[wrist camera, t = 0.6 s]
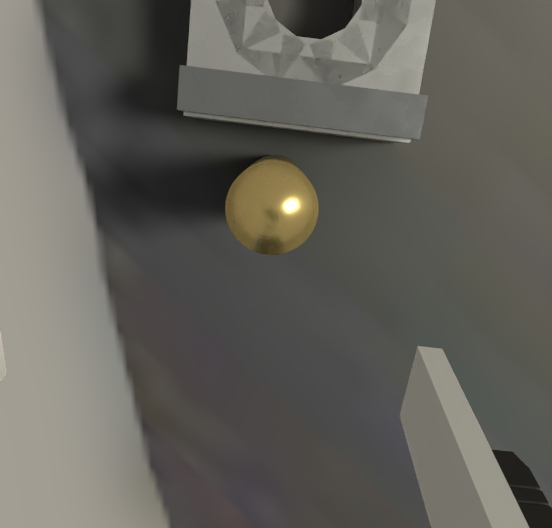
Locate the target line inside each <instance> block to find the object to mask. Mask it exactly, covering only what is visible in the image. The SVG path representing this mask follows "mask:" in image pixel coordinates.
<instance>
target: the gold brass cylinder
mask: <svg viewBox="0 0 552 528" xmlns="http://www.w3.org/2000/svg"><path fill="white" fill-rule="evenodd" d="M225 212H226V218H227V222H228V225H229V228H230V229H231V231H232V233H233V234H234V236H235V237H236V238H237V240H238V241H239V242H240V243H242V244H243V245H244V246H245V247H247V248H249V249H250V250H253V251H255V252H258V253H261V254H266V255H277V254H283V253H286V252H289V251H292V250H294V249H296V248H297V247H299V246H300V245H301V244H302V243H304V242H305V241H306V239H307V238H308V237H309V236H310V234H311V233H312V231H313V229H314V227H315V225H316V222H317V218H318V199H317V195H316V192H315V190H314V188H313V186H312V184H311V183H310V181H309V180H308V178H307V177H306V176H305V175H304V173H303V172H302V171H301V170H300V168H299V167H298V166H297V165H296V164H295V163H294V162H293V161H291V160H290V159H288V158H286V157H283V156H278V155H270V156H265V157H263V158H260V159H259V160H257V161H256V162H254V163H253V164H252V165H251V166H249V167H248V168H247V169H246V170H245V171H243V172H242V173H241V174H240V175H239V176H238V177H237V178H236V179H235V181H234V182H233V184H232V185H231V187H230V189H229V191H228V194H227V198H226V204H225Z"/></svg>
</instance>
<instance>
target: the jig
mask: <svg viewBox="0 0 552 528" xmlns="http://www.w3.org/2000/svg"><path fill="white" fill-rule="evenodd" d="M435 2H436V0H354V7H353V14H352V19H351V21H350V22H349V24H348V25H347V26H346V28H345V29H343V30H340V31H338V32H336V33H334V34H332V35H330V36H327V37H325V38H323V39H314V38H307V37H299V36H295V35H294V34H293V33H291V32H290V31H289V30H288V29H286V28H285V27H284V26H283V25H282V24H280V23H279V22H278V21H277V20H275V17H274V15H273V12H272V10H271V7H270V5H269V2H268V0H191V9H190V24H189V39H188V54H187V66H185V65H180V68H179V84H178V99H177V110H179V111H182V112H184V113H183V115H184V116H188V117H191V118H195V119H203V120H211V121H220V122H228V123H236V124H244V125H252V126H261V127H269V128H277V129H285V130H294V131H302V132H310V133H318V134H327V135H335V136H343V137H351V138H359V139H368V140H376V141H384V142H392V143H410V141H411V140H414V139H420V136H421V131H422V125H423V120H424V115H425V109H426V104H427V98H428V96H427V95H419V91H420V85H421V80H422V74H423V68H424V63H425V57H426V52H427V46H428V41H429V35H430V29H431V24H432V18H433V13H434V7H435Z"/></svg>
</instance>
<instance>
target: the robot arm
mask: <svg viewBox="0 0 552 528" xmlns="http://www.w3.org/2000/svg"><path fill="white" fill-rule="evenodd" d="M6 375H7V371H6V364H5V358H4V351H3V345H2V338H1V332H0V381H1V380H2V379H3V378H4V377H5V376H6ZM400 419H401V422H402V426H403V429H404V433H405V437H406V440H407V444H408V447H409V451H410V454H411V458H412V461H413V465H414V468H415V472H416V476H417V479H418V483H419V486H420V490H421V493H422V497H423V500H424V504H425V507H426V511H427V515H428V518H429V522H430V525H431V528H552V508H551V507H549V506H548V501H547V499H546V497H545V496H544V494H543V492H542V491H540V487H539V485H538V483H537V481H536V480H535V478H534V476H533V474H532V472H531V471H530V469H529V468H528V467H527V466H526V465H525V464H524V463H523V462H522V461H521V460H520V459H519V458H518V457H517V456H516V455H515V454H514V453H513V452H509V451H499V450H491V448H490V446H489V444H488V442H487V440H486V438H485V436H484V434H483V432H482V429H481V427H480V425H479V423H478V421H477V419H476V417H475V415H474V413H473V411H472V409H471V407H470V405H469V403H468V401H467V399H466V397H465V395H464V393H463V391H462V388H461V386H460V384H459V382H458V380H457V378H456V376H455V374H454V372H453V370H452V368H451V366H450V364H449V362H448V360H447V358H446V356H445V354H444V352H443V350H442V349H439V348H430V347H421V346H418V347H417V351H416V354H415V358H414V362H413V366H412V370H411V374H410V377H409V381H408V385H407V389H406V393H405V397H404V401H403V404H402V408H401V412H400Z"/></svg>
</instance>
